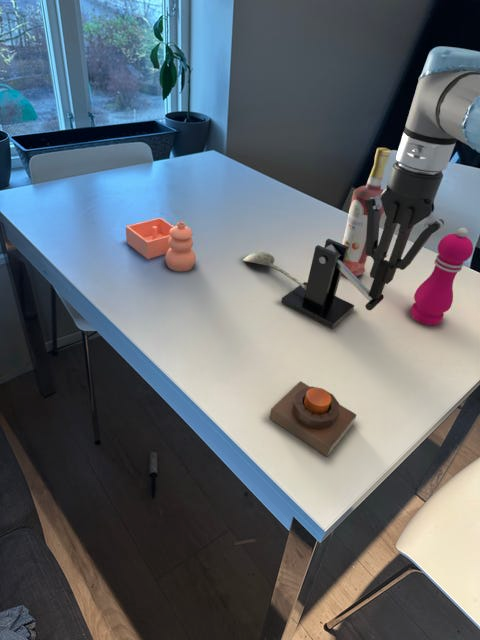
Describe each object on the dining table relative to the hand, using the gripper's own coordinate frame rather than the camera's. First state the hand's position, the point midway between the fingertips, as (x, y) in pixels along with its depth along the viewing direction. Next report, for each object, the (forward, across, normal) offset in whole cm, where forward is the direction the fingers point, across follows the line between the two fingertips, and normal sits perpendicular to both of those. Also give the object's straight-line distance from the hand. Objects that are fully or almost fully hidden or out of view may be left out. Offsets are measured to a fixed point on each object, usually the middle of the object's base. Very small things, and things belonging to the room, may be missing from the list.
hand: (375, 294), depth 82 cm
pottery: (+9, -46, -8) cm, 48 cm away
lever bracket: (+8, -10, 0) cm, 13 cm away
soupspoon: (+8, -22, +2) cm, 23 cm away
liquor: (+9, -12, +18) cm, 23 cm away
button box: (+8, +5, -27) cm, 29 cm away
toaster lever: (0, -6, 0) cm, 6 cm away
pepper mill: (+8, +8, +14) cm, 18 cm away
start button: (+4, +5, -27) cm, 28 cm away
